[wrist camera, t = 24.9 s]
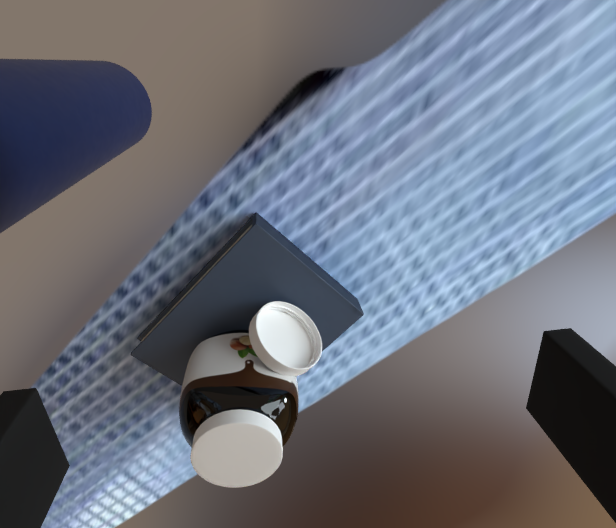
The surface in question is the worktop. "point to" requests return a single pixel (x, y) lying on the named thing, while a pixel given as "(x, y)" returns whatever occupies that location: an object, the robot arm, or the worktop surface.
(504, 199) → the worktop surface
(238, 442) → the spread jar
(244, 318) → the book
